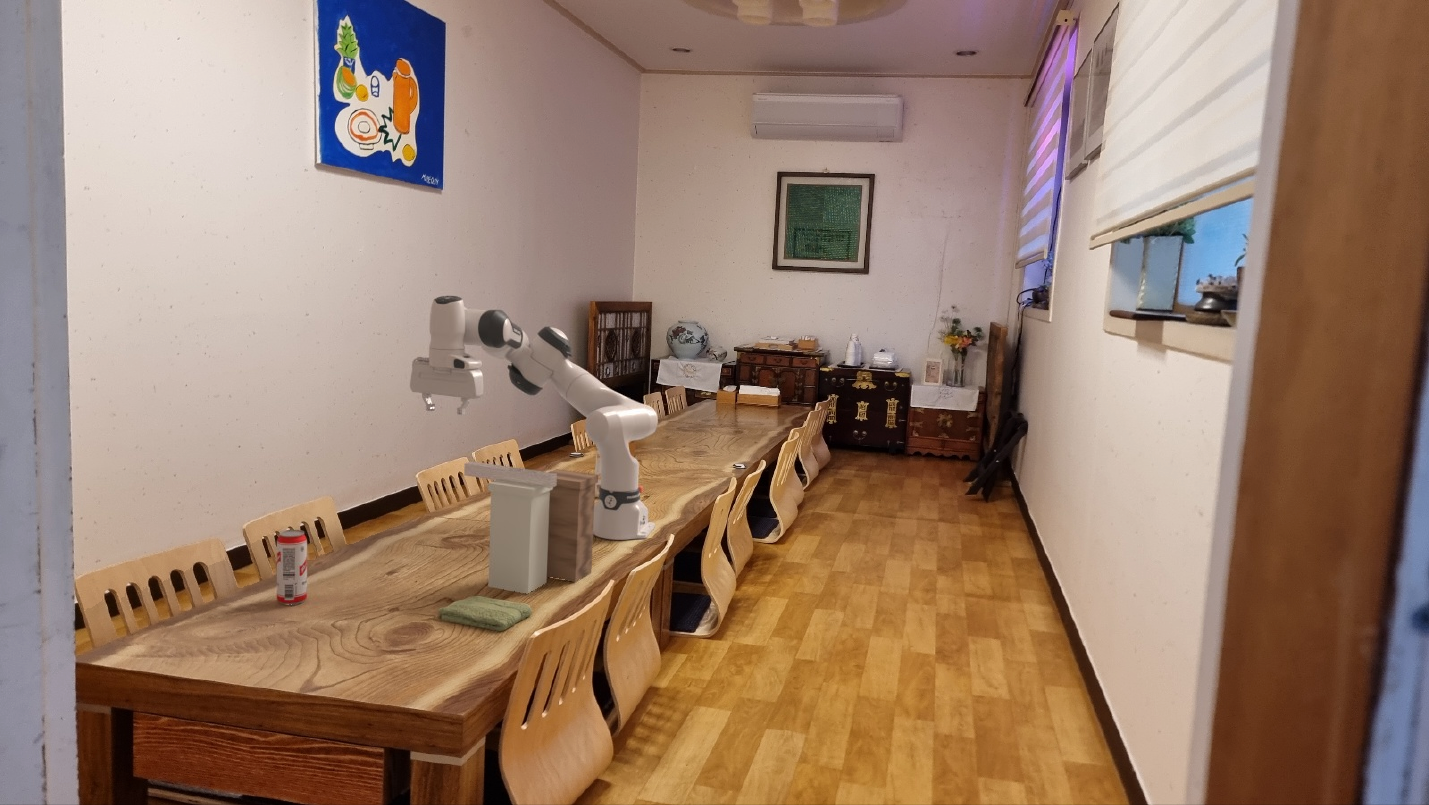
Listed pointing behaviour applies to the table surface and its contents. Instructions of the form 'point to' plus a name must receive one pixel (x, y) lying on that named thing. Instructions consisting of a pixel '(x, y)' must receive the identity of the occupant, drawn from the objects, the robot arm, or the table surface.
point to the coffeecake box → (597, 472)
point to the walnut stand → (571, 525)
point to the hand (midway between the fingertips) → (445, 412)
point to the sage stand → (518, 536)
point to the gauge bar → (510, 474)
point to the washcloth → (485, 612)
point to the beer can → (291, 567)
